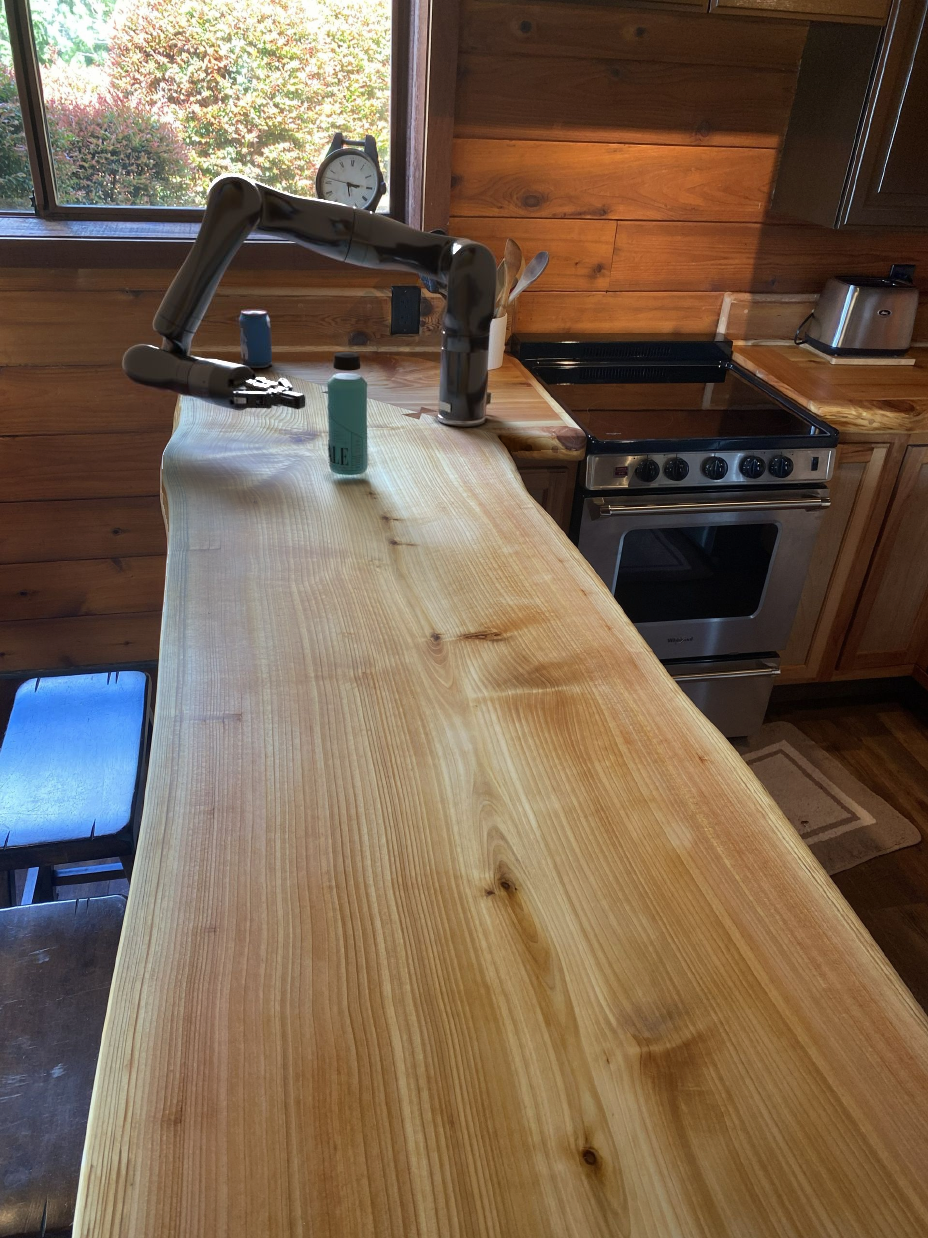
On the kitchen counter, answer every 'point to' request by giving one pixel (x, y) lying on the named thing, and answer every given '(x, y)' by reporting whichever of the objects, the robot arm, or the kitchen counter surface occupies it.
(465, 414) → the robot arm
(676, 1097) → the kitchen counter surface
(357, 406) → the beverage bottle
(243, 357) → the soda can
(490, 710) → the kitchen counter surface
